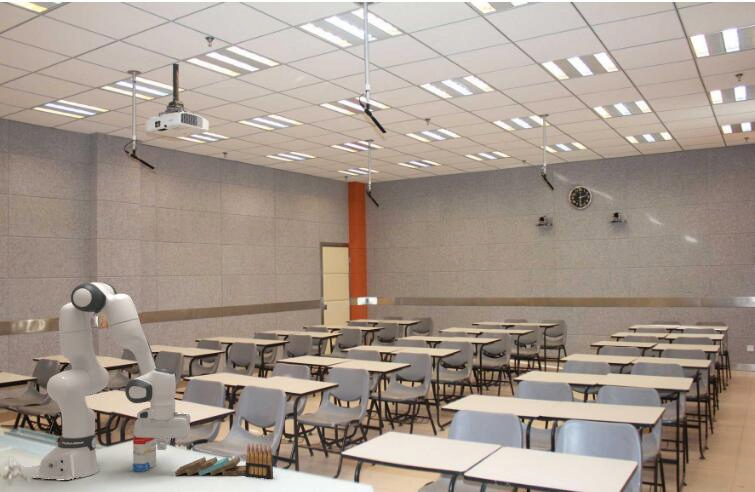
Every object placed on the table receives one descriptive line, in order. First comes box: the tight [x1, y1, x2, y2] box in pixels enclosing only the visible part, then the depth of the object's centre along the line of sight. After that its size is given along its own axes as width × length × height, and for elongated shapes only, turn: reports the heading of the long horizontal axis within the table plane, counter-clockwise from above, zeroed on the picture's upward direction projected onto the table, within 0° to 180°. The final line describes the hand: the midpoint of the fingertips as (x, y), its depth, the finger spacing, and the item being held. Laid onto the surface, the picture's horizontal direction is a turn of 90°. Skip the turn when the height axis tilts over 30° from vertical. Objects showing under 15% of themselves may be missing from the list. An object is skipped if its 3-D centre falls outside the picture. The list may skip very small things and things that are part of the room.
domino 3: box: [197, 456, 230, 477], centre depth 234 cm, size 2×6×10 cm
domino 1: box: [174, 456, 207, 477], centre depth 234 cm, size 2×6×10 cm
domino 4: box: [209, 456, 241, 476], centre depth 234 cm, size 2×6×10 cm
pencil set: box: [244, 442, 274, 480], centre depth 230 cm, size 11×2×12 cm, turn 70°
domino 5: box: [221, 464, 246, 477], centre depth 234 cm, size 2×6×10 cm
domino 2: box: [186, 456, 219, 477], centre depth 234 cm, size 2×6×10 cm
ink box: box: [132, 434, 157, 473], centre depth 242 cm, size 8×5×15 cm, turn 168°
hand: (161, 449), depth 236 cm, fingers closed
